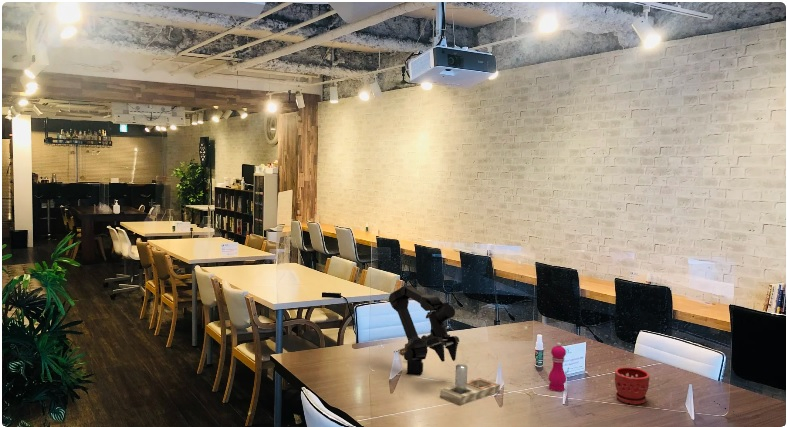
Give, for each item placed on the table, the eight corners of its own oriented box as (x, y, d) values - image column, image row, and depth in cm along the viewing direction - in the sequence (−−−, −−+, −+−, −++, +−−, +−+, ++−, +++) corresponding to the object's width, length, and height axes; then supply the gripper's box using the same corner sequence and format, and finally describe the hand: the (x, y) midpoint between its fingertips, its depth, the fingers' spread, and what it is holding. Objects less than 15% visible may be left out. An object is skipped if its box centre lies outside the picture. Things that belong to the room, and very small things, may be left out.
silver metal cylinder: (454, 399, 253) (455, 367, 252) (455, 395, 257) (456, 363, 256) (465, 400, 252) (466, 368, 251) (466, 396, 256) (468, 365, 255)
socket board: (460, 405, 247) (460, 396, 246) (440, 396, 255) (440, 388, 255) (499, 391, 262) (499, 384, 262) (479, 384, 271) (479, 377, 270)
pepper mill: (566, 387, 270) (568, 341, 269) (564, 392, 264) (567, 345, 262) (548, 384, 273) (551, 339, 271) (547, 390, 266) (549, 343, 264)
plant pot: (609, 394, 263) (610, 366, 262) (641, 395, 263) (642, 367, 262) (619, 406, 250) (621, 376, 249) (653, 407, 250) (654, 377, 249)
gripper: (433, 331, 280) (443, 366, 275) (411, 331, 265) (421, 367, 259) (454, 323, 275) (465, 358, 269) (432, 322, 260) (443, 359, 254)
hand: (448, 361), depth 263 cm, fingers open, 9 cm apart
